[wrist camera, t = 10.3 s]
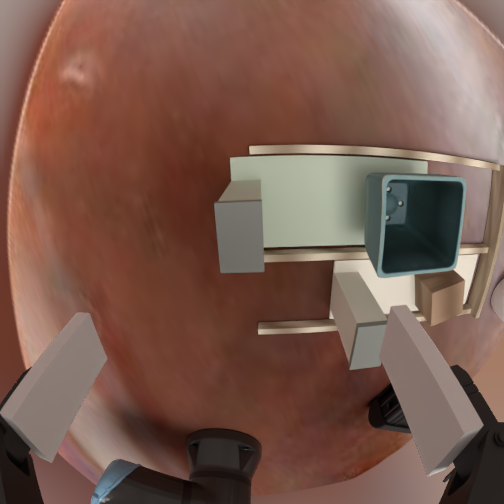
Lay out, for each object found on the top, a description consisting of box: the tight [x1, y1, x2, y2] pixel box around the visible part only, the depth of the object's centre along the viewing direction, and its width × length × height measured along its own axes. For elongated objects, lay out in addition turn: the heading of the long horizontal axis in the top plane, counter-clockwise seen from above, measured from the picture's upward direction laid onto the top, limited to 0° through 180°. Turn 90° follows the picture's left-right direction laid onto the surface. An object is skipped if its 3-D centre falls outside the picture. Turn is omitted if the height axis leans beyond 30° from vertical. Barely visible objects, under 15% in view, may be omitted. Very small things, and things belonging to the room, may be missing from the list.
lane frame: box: [249, 145, 504, 334], centre depth 30 cm, size 33×22×3 cm
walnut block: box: [414, 270, 465, 326], centre depth 31 cm, size 5×5×5 cm
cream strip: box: [329, 253, 478, 370], centre depth 29 cm, size 22×8×11 cm, turn 93°
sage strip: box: [214, 155, 428, 273], centre depth 25 cm, size 22×10×11 cm, turn 93°
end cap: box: [368, 384, 411, 433], centre depth 40 cm, size 10×7×7 cm
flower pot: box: [364, 173, 466, 278], centre depth 25 cm, size 9×9×9 cm
